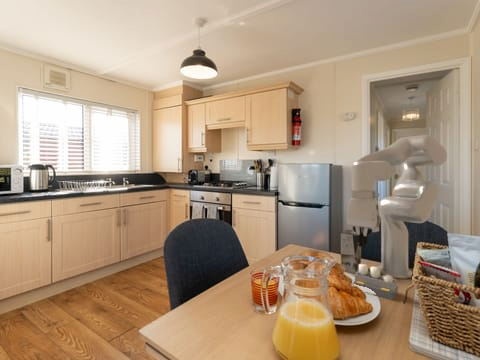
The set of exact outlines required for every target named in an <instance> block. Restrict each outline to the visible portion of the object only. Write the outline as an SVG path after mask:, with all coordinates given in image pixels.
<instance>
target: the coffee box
mask: <svg viewBox="0 0 480 360" xmlns="http://www.w3.org/2000/svg"><path fill="white" fill-rule="evenodd" d="M361 247H362V246H361ZM361 247H360V246H359V243H358V235H357V234H356V232H355V231H354V230H353V229H345V230H344V231H343V232H341V233H340V267H341V266H343V267H344V268H345V271H344V272H348V273H352V274H356V273H357V272H358V271H359V264H362V257H361V256H362V249H361Z"/></svg>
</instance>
